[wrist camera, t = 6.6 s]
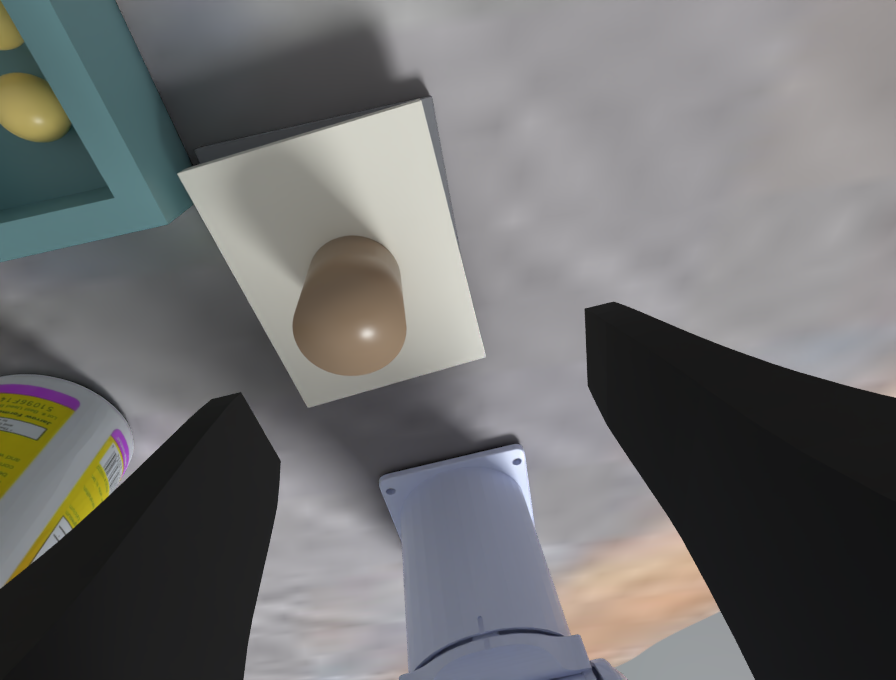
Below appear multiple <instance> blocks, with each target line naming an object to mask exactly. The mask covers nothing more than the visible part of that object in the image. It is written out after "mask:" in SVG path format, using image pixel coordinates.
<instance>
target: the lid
mask: <svg viewBox="0 0 896 680" xmlns="http://www.w3.org/2000/svg"><path fill="white" fill-rule="evenodd" d="M177 174H178V176H179V178H180V180H181V182H182V183H183V185H184V187H185V189H186V191H187V192H188V194H189V196H190V198H191V199H192V201H193V203H194V205H195V207H196V208H197V210H198V212H199V214H200V216H201V217H202V219H203V221H204V223H205V225H206V226H207V228H208V230H209V232H210V233H211V235H212V237H213V239H214V241H215V242H216V244H217V246H218V248H219V250H220V251H221V253H222V255H223V257H224V259H225V260H226V262H227V264H228V266H229V268H230V269H231V271H232V273H233V275H234V276H235V278H236V280H237V282H238V284H239V285H240V287H241V289H242V291H243V293H244V294H245V296H246V298H247V300H248V302H249V303H250V305H251V307H252V309H253V310H254V312H255V314H256V316H257V318H258V319H259V321H260V323H261V325H262V327H263V328H264V330H265V332H266V334H267V336H268V337H269V339H270V341H271V343H272V344H273V346H274V348H275V350H276V352H277V353H278V355H279V357H280V359H281V361H282V362H283V364H284V366H285V368H286V370H287V371H288V373H289V375H290V377H291V378H292V380H293V382H294V384H295V386H296V387H297V389H298V391H299V393H300V395H301V396H302V398H303V400H304V402H305V404H306V405H307V407H308V408H310V407H314V406H317V405H321V404H324V403H328V402H331V401H335V400H338V399H342V398H345V397H349V396H352V395H356V394H359V393H362V392H366V391H369V390H373V389H376V388H380V387H383V386H387V385H390V384H394V383H397V382H401V381H404V380H408V379H411V378H415V377H418V376H422V375H425V374H429V373H432V372H436V371H439V370H443V369H446V368H450V367H453V366H457V365H460V364H464V363H467V362H470V361H474V360H477V359H481V358H484V357H486V355H485V351H484V347H483V343H482V339H481V335H480V331H479V327H478V323H477V319H476V315H475V311H474V307H473V303H472V299H471V295H470V291H469V287H468V283H467V280H466V276H465V272H464V268H463V264H462V260H461V256H460V252H459V248H458V244H457V240H456V236H455V232H454V228H453V224H452V220H451V216H450V212H449V208H448V204H447V200H446V196H445V192H444V188H443V184H442V180H441V176H440V172H439V168H438V165H437V161H436V157H435V153H434V149H433V145H432V141H431V137H430V133H429V129H428V125H427V121H426V117H425V113H424V109H423V105H422V101H421V100H420V99H416V100H413V101H410V102H406V103H403V104H400V105H396V106H393V107H390V108H386V109H383V110H380V111H376V112H373V113H369V114H366V115H363V116H359V117H356V118H353V119H349V120H346V121H343V122H339V123H336V124H333V125H329V126H326V127H323V128H319V129H316V130H313V131H309V132H306V133H303V134H299V135H296V136H292V137H289V138H286V139H282V140H279V141H276V142H272V143H269V144H266V145H262V146H259V147H256V148H252V149H249V150H246V151H242V152H239V153H236V154H232V155H229V156H226V157H222V158H219V159H216V160H212V161H209V162H205V163H202V164H199V165H195V166H192V167H189V168H186V169H184V170H182V171H181V172H179V173H177Z"/></svg>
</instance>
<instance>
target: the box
mask: <svg viewBox="0 0 896 680" xmlns="http://www.w3.org/2000/svg"><path fill="white" fill-rule="evenodd" d="M189 167H192V163H191V161H190V159H189V157H188V155H187V153H186V151H185V148H184V146H183V144H182V142H181V140H180V138H179V136H178V134H177V131H176V129H175V127H174V125H173V123H172V121H171V119H170V116H169V114H168V112H167V110H166V108H165V106H164V104H163V101H162V99H161V97H160V95H159V93H158V91H157V89H156V87H155V84H154V82H153V80H152V78H151V76H150V74H149V72H148V69H147V67H146V65H145V63H144V61H143V59H142V57H141V55H140V52H139V50H138V48H137V46H136V44H135V42H134V40H133V37H132V35H131V33H130V31H129V29H128V27H127V25H126V22H125V20H124V18H123V16H122V14H121V12H120V10H119V8H118V5H117V3H116V1H115V0H0V262H4V261H8V260H13V259H17V258H22V257H26V256H30V255H35V254H39V253H44V252H48V251H53V250H57V249H61V248H66V247H70V246H75V245H79V244H84V243H88V242H92V241H97V240H101V239H106V238H110V237H115V236H119V235H123V234H128V233H132V232H137V231H141V230H146V229H150V228H155V227H159V226H163V225H168V224H169V223H171V222H172V221H173V220H174V219H176V218H177V217H178V216H179V215H181V214H182V213H183V212H185V211H186V210H187V209H188V208H190V207H191V206H192V205H193V204H194V203H193V201H192V199H191V198H190V196H189V194H188V192H187V191H186V189H185V187H184V185H183V183H182V182H181V180H180V178H179V176H178V174H177V173H179V172H181V171H182V170H184V169H186V168H189Z"/></svg>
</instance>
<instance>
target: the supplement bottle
mask: <svg viewBox="0 0 896 680" xmlns="http://www.w3.org/2000/svg"><path fill="white" fill-rule="evenodd" d="M133 447H134V441H133V436H132V432H131V429H130V427H129V425H128V423H127V421H126V420H125V418H124V417H123V416H122V414H121V413H120V412H119V411H118V410H117V409H116V408H115V407H114V406H113V405H112V404H110V403H109V402H108V401H107V400H105V399H104V398H103V397H101V396H100V395H98V394H96V393H95V392H93V391H91V390H89V389H88V388H86V387H83V386H81V385H79V384H76V383H74V382H71V381H68V380H64V379H60V378H56V377H51V376H45V375H35V374H17V375H7V376H2V377H0V589H1V588H2V587H3V586H4V585H6V584H7V583H8V582H9V581H11V580H12V579H13V578H14V577H15V576H17V575H18V574H19V573H20V572H22V571H23V570H24V569H25V568H27V567H28V566H29V565H30V564H32V563H33V562H34V561H35V560H37V559H38V558H39V557H40V556H41V555H43V554H44V553H45V552H46V551H47V550H49V549H50V548H51V547H52V546H53V545H54V544H56V543H57V542H58V541H59V540H60V539H61V538H63V537H64V536H65V535H66V534H67V533H68V532H70V531H71V530H72V529H73V528H74V527H75V526H76V525H77V524H78V523H80V522H81V521H82V520H83V519H84V518H85V517H86V516H87V515H88V514H89V513H90V512H92V511H93V510H94V509H95V508H96V507H97V506H98V505H99V504H100V503H101V502H102V501H104V500H105V499H106V498H107V497H108V496H109V495H110V494H111V493H112V492H113V491H114V489H115V488H116V486H117V484H118V483H119V481H120V479H121V478H122V476H123V474H124V473H125V470H126V468H127V467H128V465H129V463H130V460H131V458H132V454H133Z"/></svg>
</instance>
